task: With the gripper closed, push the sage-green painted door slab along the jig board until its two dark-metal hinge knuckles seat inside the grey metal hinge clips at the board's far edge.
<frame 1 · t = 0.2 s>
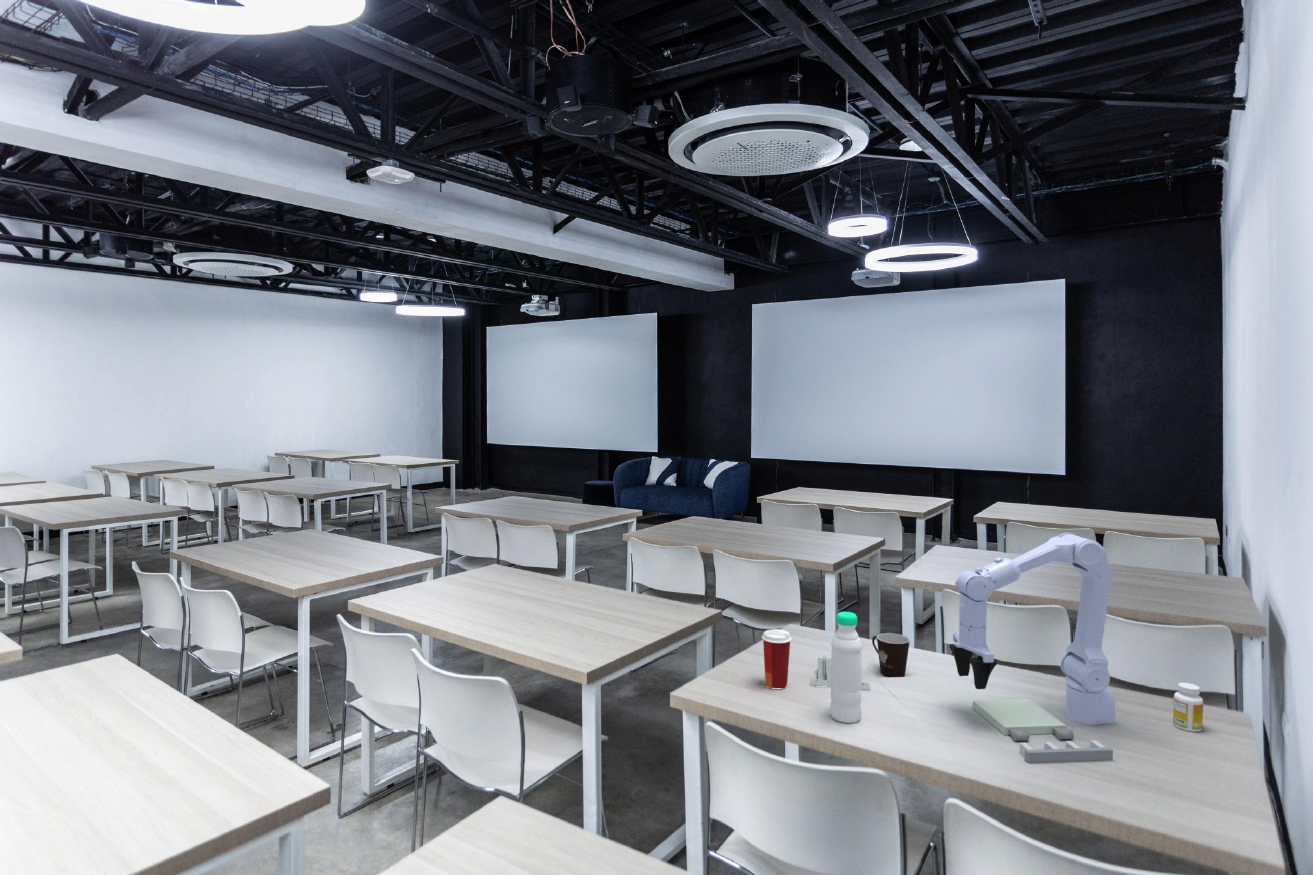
hand: (971, 681, 163), 10 cm above the table, fingers open, 7 cm apart
door: (1021, 719, 161), point 2 cm above the table, slide at 7.0 cm
water bottle: (845, 718, 167), on the table
supplement bottle: (1187, 727, 162), on the table
metal bracket: (838, 681, 190), on the table
coffee mug: (890, 672, 195), on the table
paper cup: (776, 685, 186), on the table
jig board: (1032, 738, 157), on the table
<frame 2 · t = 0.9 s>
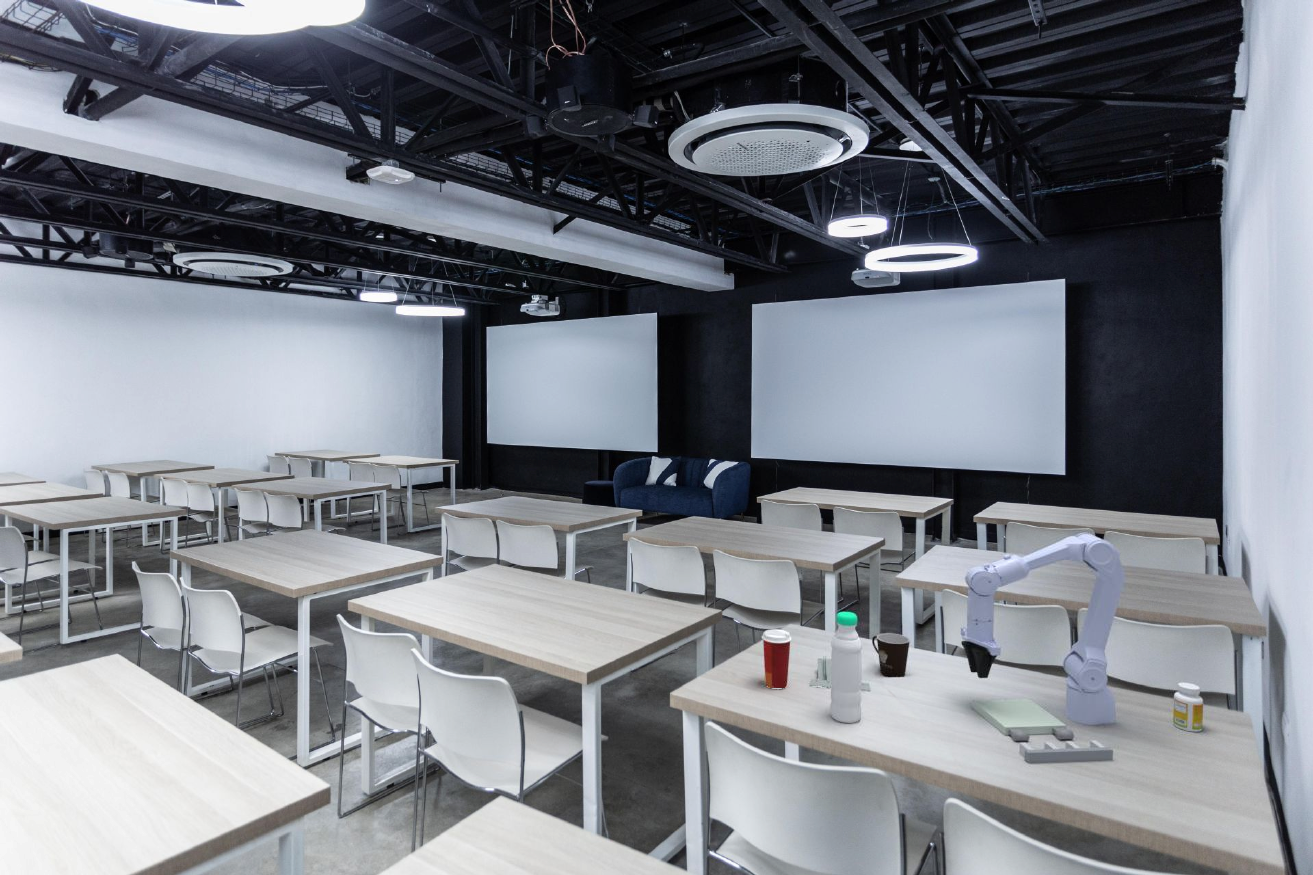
hand: (979, 674, 168), 10 cm above the table, fingers open, 3 cm apart
nothing on the table moved.
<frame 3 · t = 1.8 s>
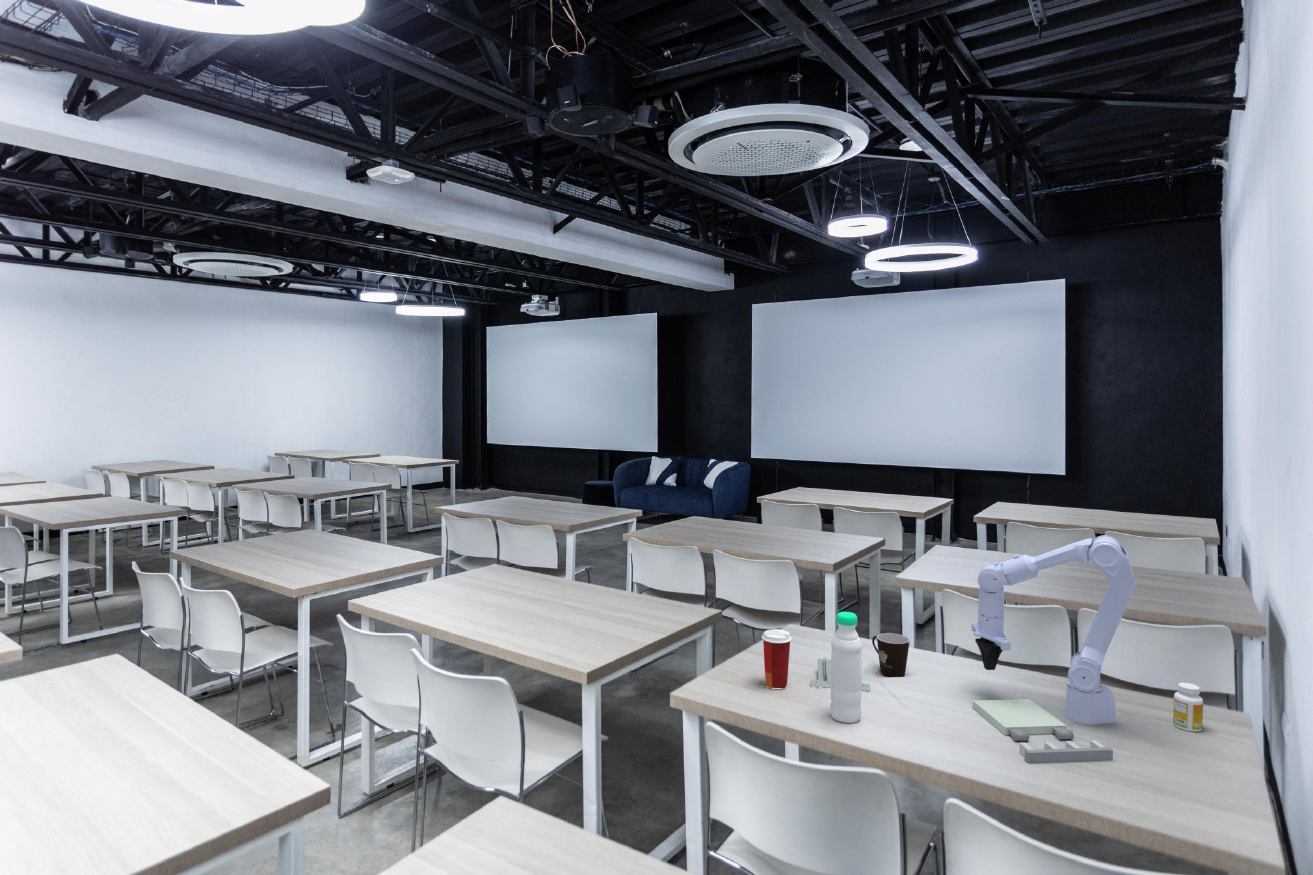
hand: (989, 668, 174), 9 cm above the table, fingers closed
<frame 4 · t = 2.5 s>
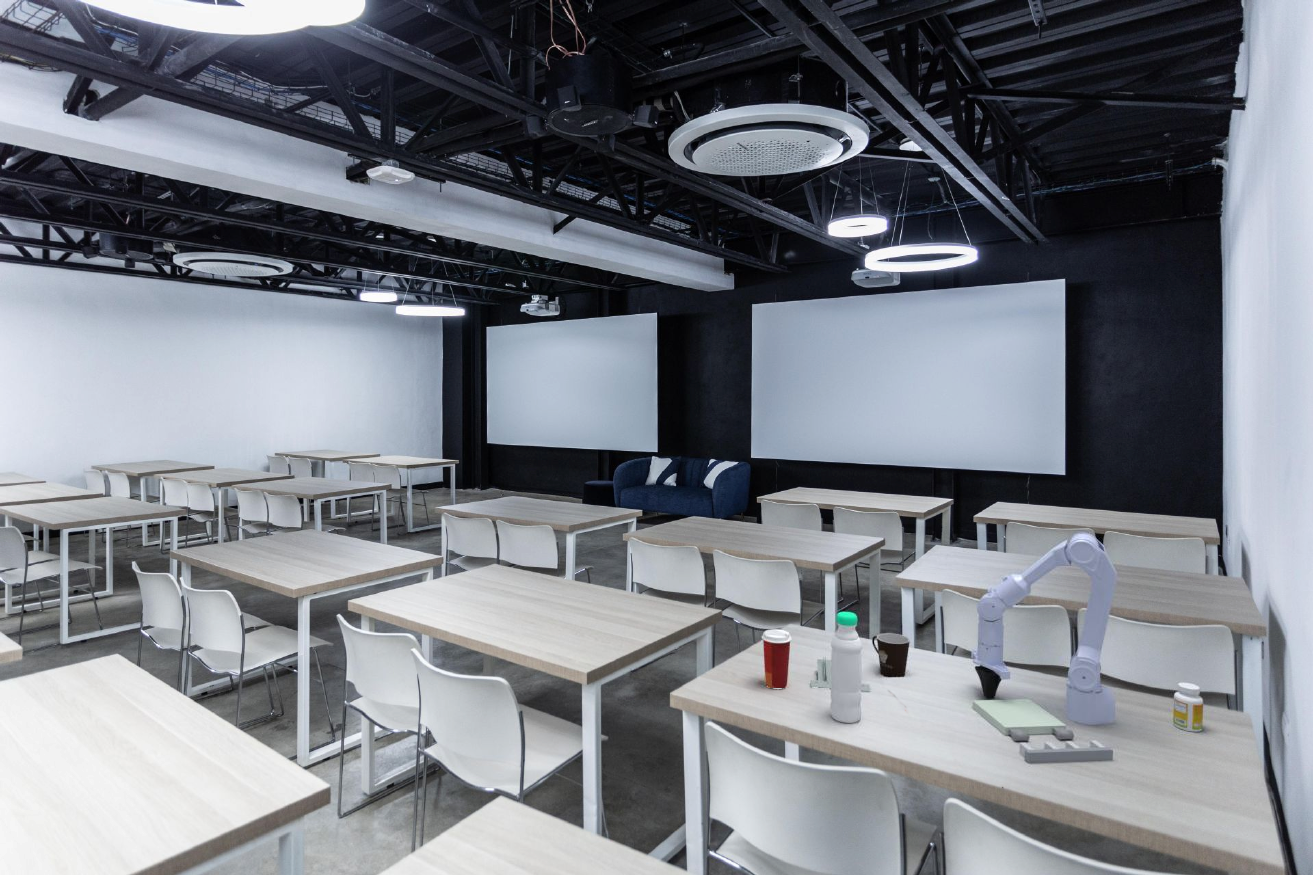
hand: (989, 696, 174), 2 cm above the table, fingers closed
nothing on the table moved.
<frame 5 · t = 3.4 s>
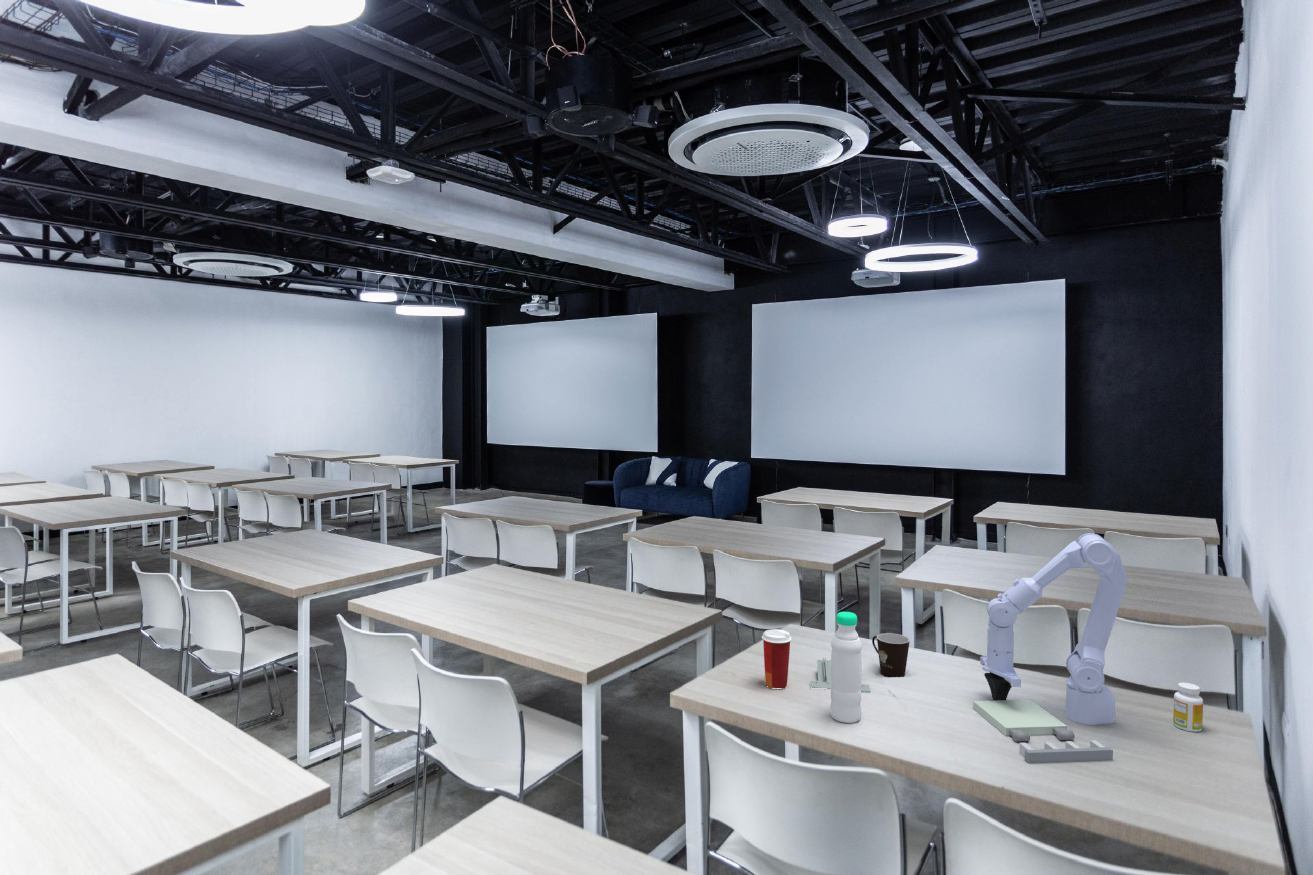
hand: (999, 704, 170), 2 cm above the table, fingers closed
door: (1022, 719, 160), point 2 cm above the table, slide at 6.7 cm, touching gripper
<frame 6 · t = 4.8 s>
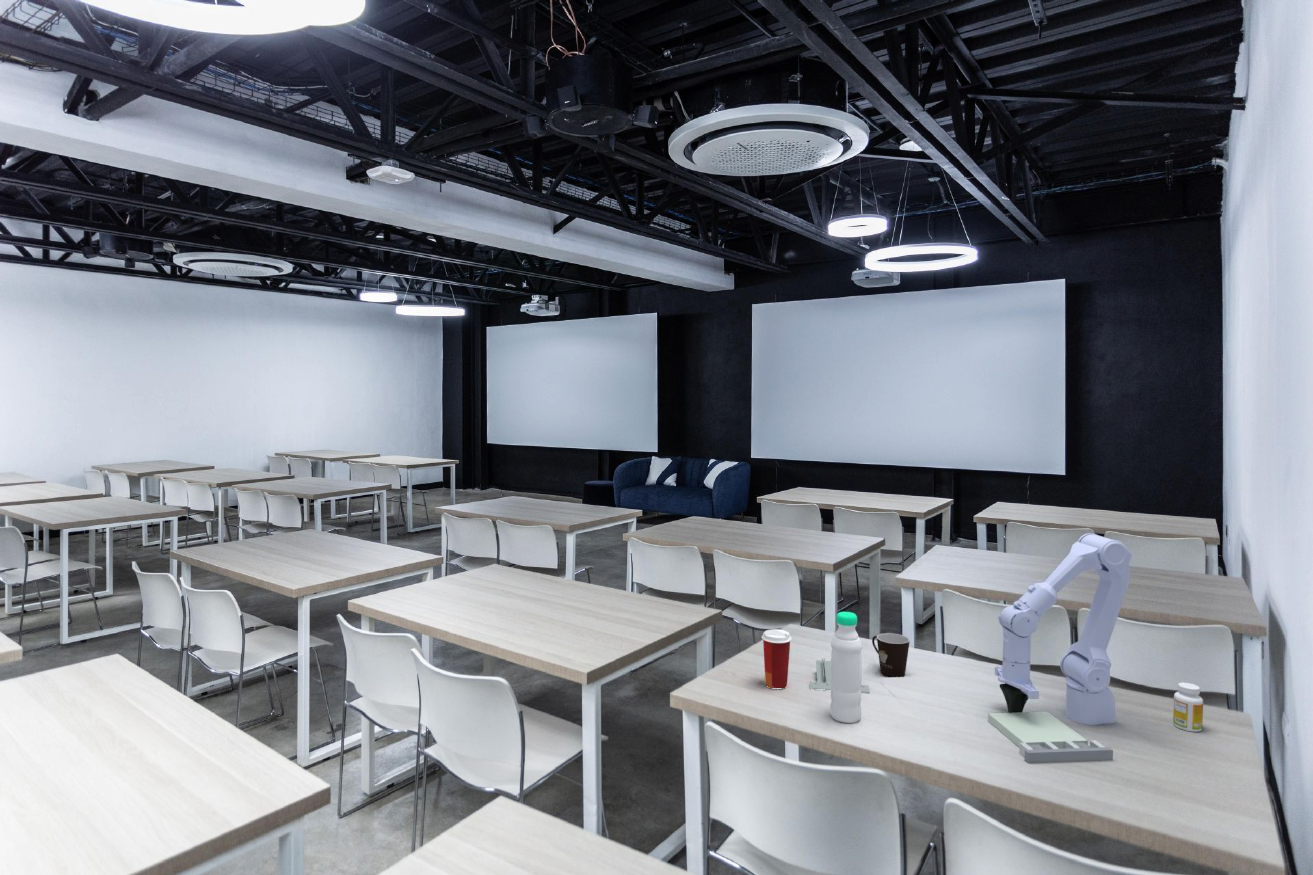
hand: (1015, 716, 163), 2 cm above the table, fingers closed
door: (1040, 733, 154), point 2 cm above the table, slide at 0.0 cm, touching gripper
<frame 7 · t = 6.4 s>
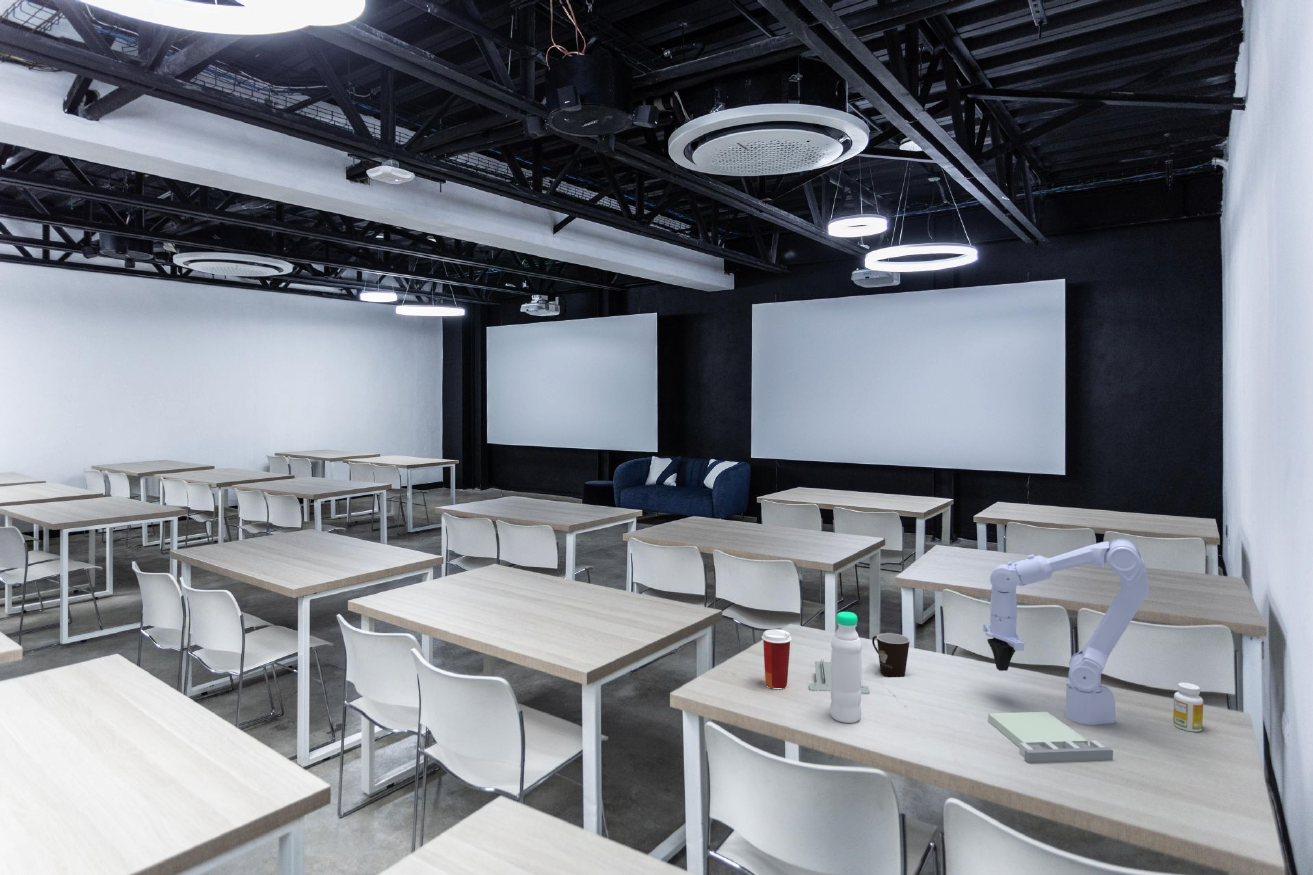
hand: (1002, 669, 172), 9 cm above the table, fingers closed
door: (1040, 733, 154), point 2 cm above the table, slide at 0.0 cm
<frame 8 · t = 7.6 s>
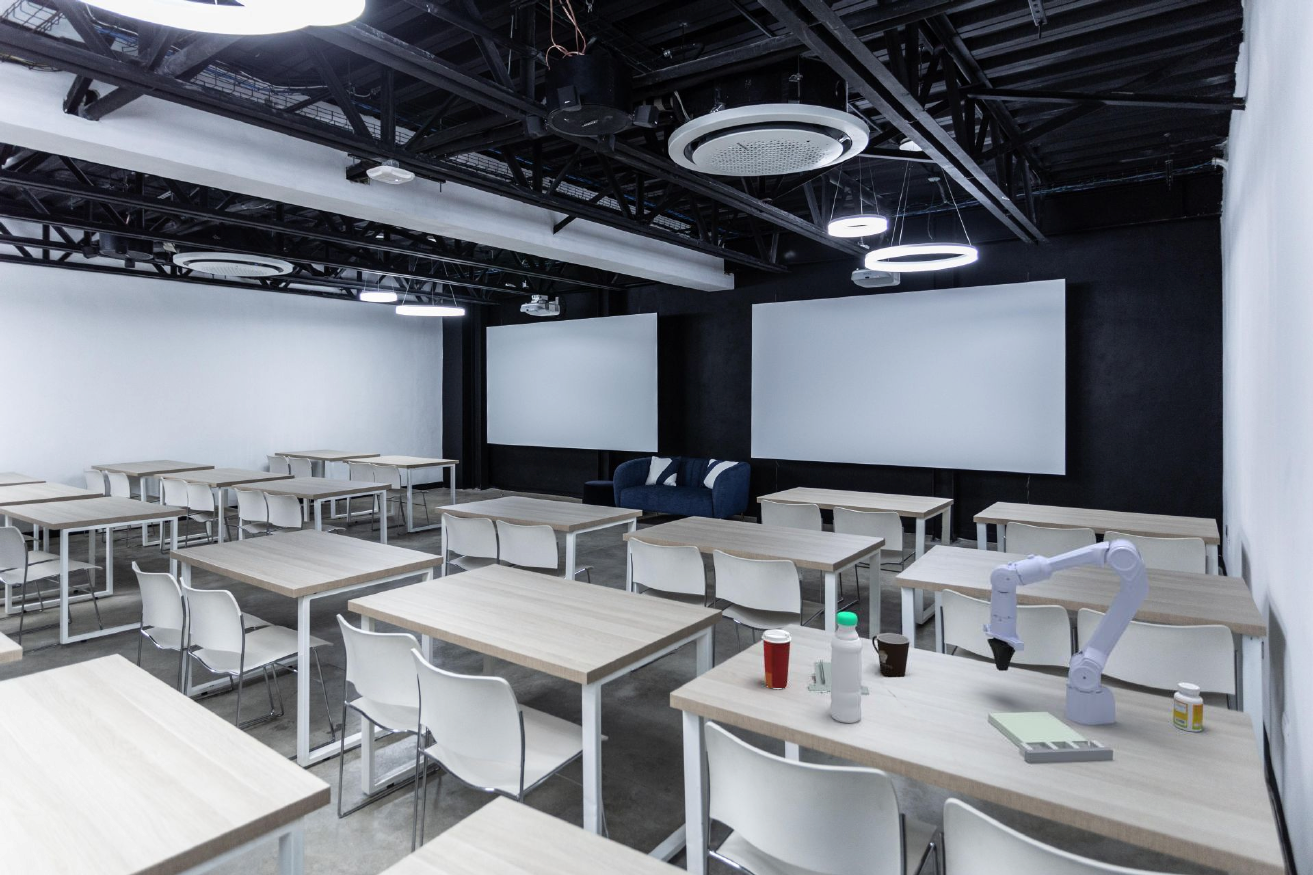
hand: (1002, 669, 172), 9 cm above the table, fingers closed
at the end: door slide at 0.0 cm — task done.
